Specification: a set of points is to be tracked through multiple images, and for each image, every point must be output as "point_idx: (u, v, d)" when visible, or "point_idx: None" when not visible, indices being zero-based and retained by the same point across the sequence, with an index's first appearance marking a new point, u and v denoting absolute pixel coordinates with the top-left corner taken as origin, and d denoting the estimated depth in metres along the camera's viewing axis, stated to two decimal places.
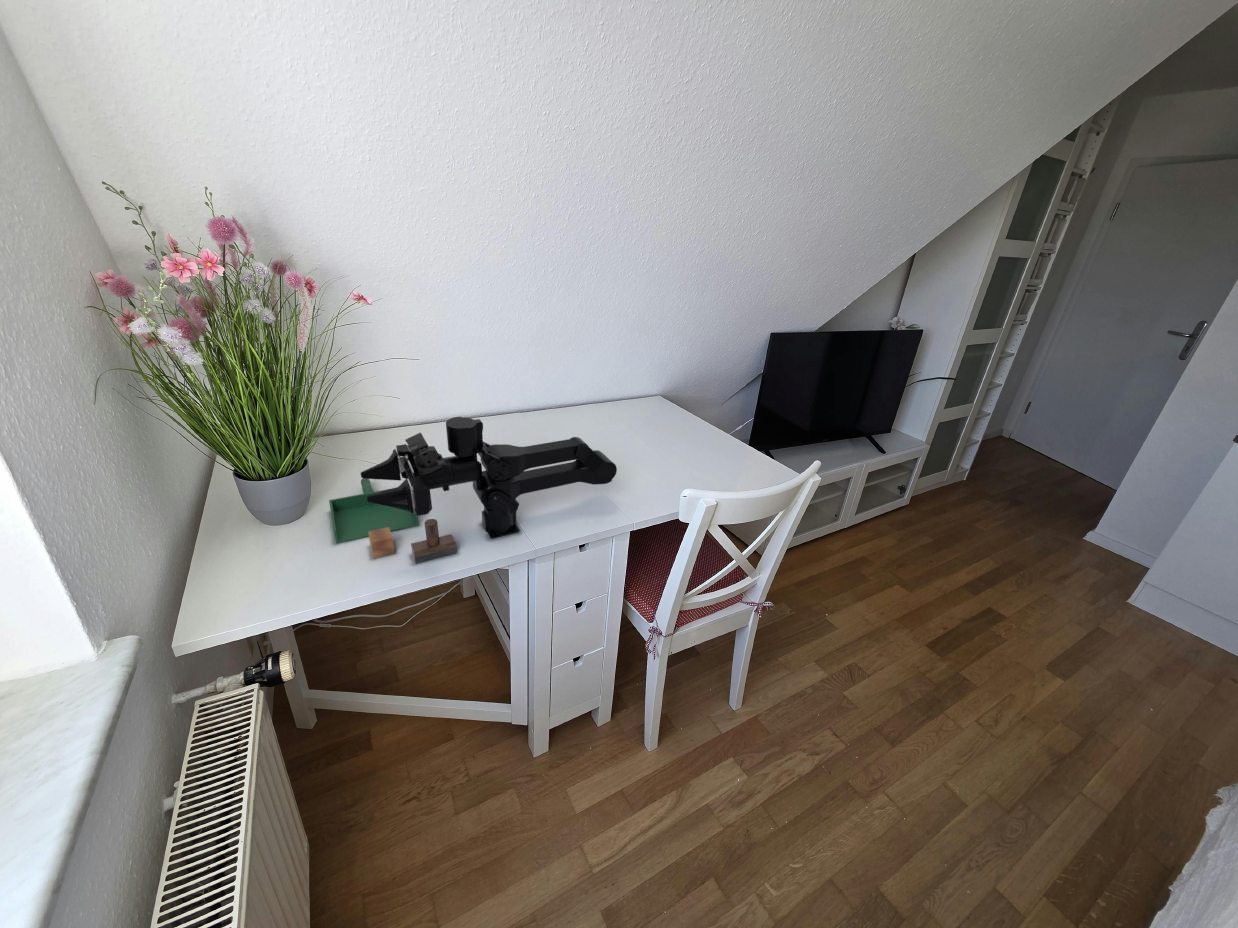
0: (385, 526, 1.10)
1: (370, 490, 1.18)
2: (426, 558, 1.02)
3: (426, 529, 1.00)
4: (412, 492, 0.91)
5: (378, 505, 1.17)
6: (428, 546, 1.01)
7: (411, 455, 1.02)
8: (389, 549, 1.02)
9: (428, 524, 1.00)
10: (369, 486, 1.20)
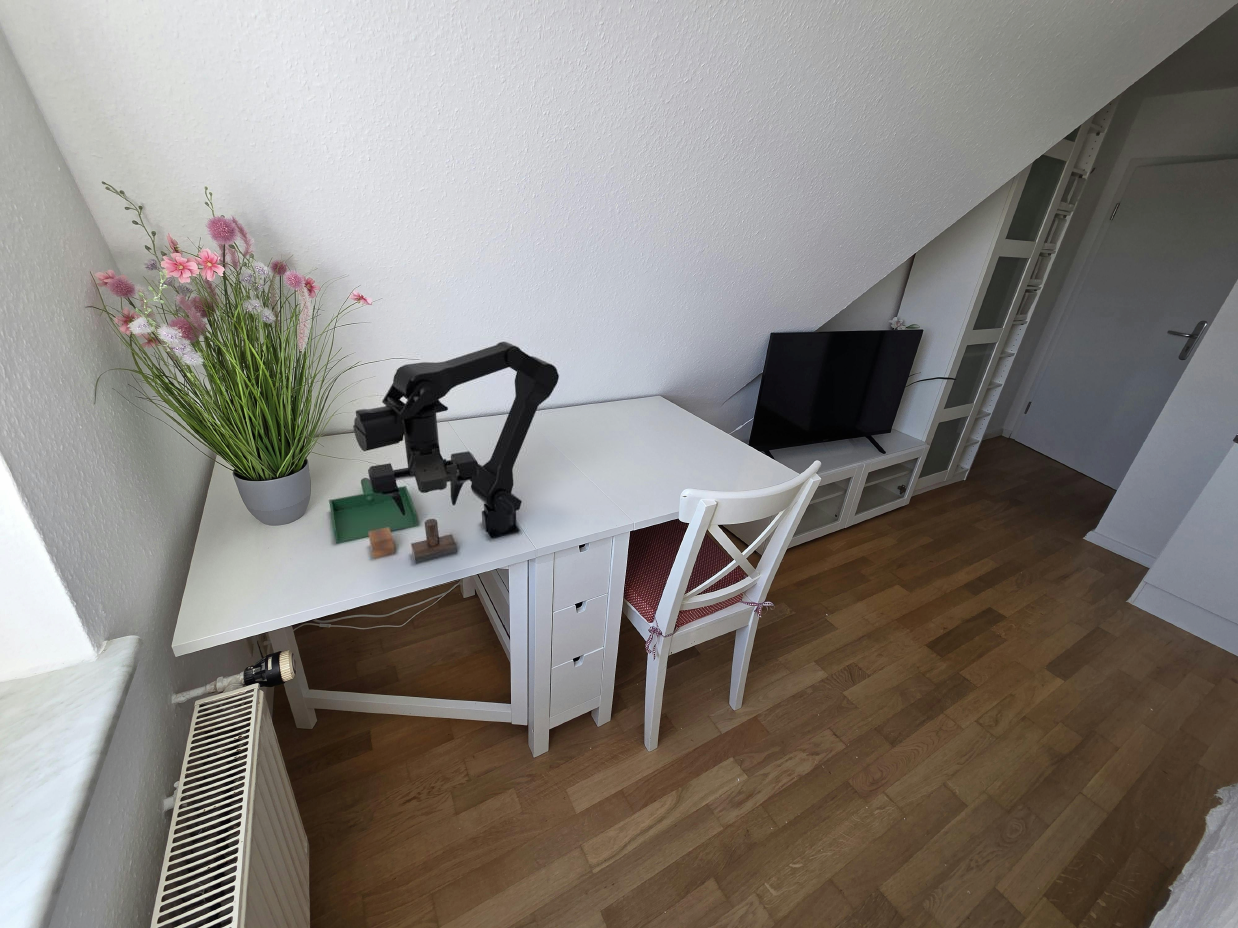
0: (385, 526, 1.10)
1: (370, 490, 1.18)
2: (426, 558, 1.02)
3: (426, 529, 1.00)
4: None
5: (378, 505, 1.17)
6: (428, 546, 1.01)
7: (394, 476, 0.90)
8: (389, 549, 1.02)
9: (428, 524, 1.00)
10: (369, 486, 1.20)
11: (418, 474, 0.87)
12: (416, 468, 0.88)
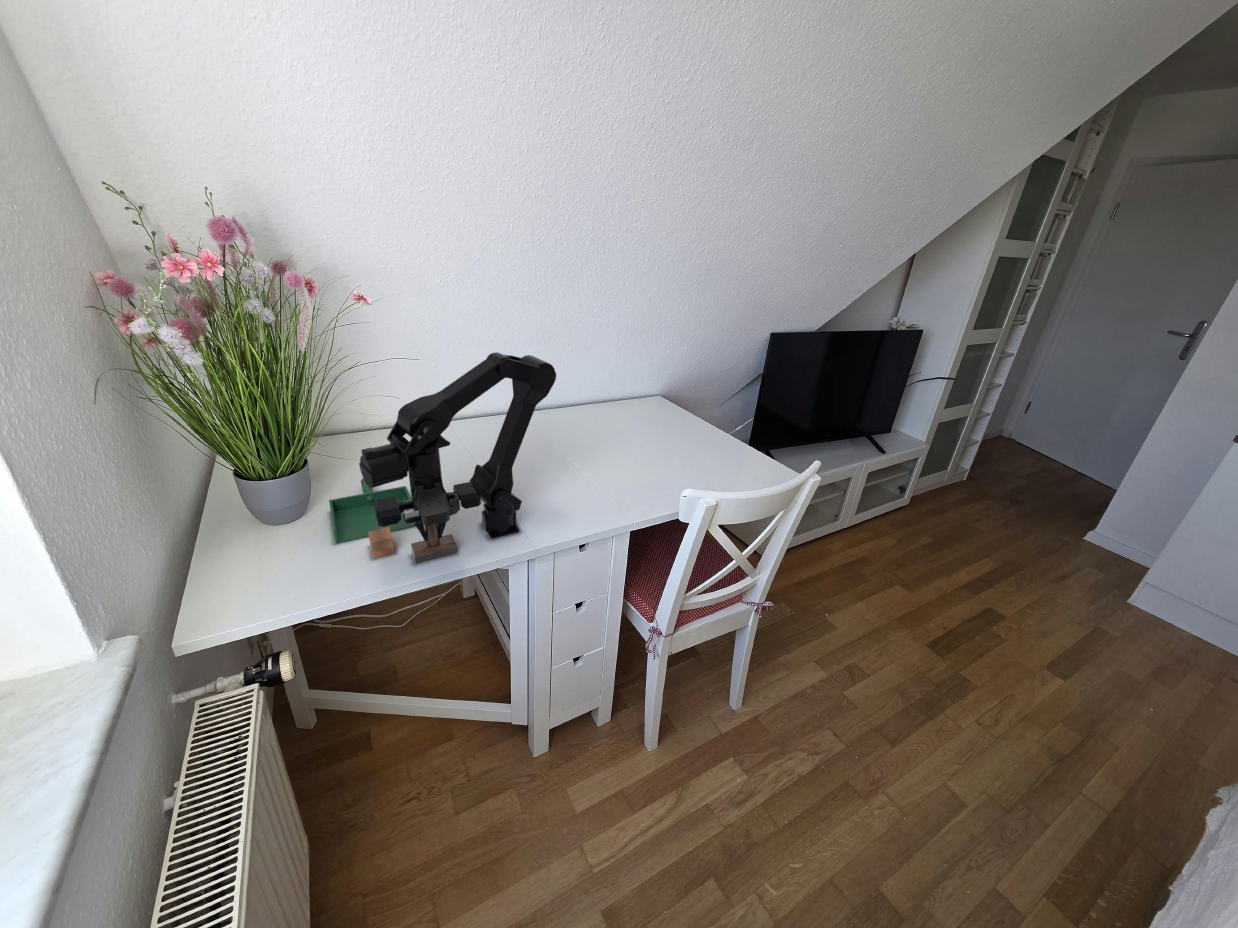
0: (385, 526, 1.10)
1: (370, 490, 1.18)
2: (426, 558, 1.02)
3: (426, 529, 1.00)
4: None
5: None
6: (428, 546, 1.01)
7: (399, 509, 0.94)
8: (389, 549, 1.02)
9: None
10: None
11: (422, 508, 0.91)
12: (420, 502, 0.91)
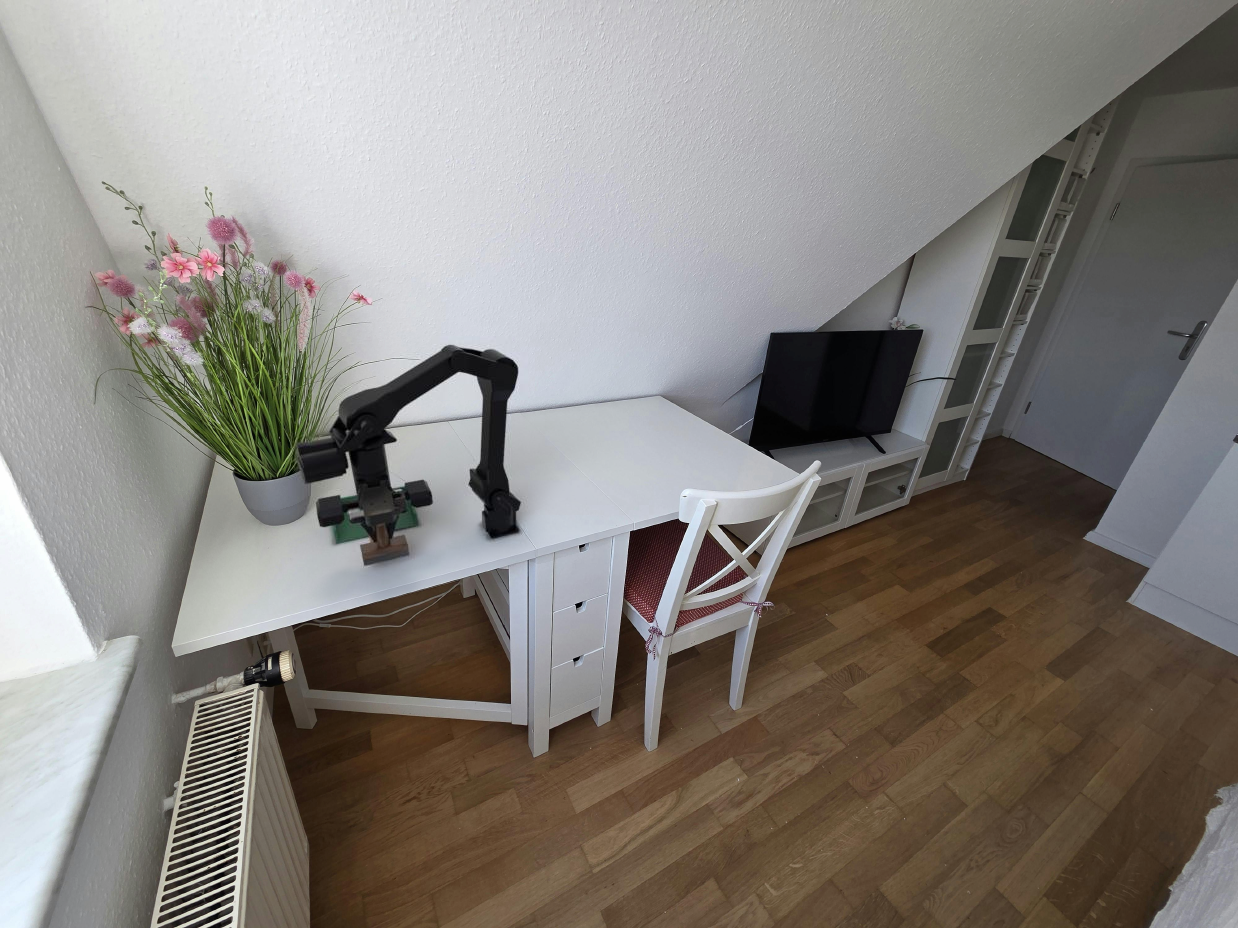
0: None
1: None
2: (376, 560, 0.96)
3: (375, 529, 0.95)
4: None
5: None
6: (378, 547, 0.96)
7: (342, 509, 0.88)
8: None
9: None
10: None
11: (364, 508, 0.85)
12: (363, 501, 0.86)
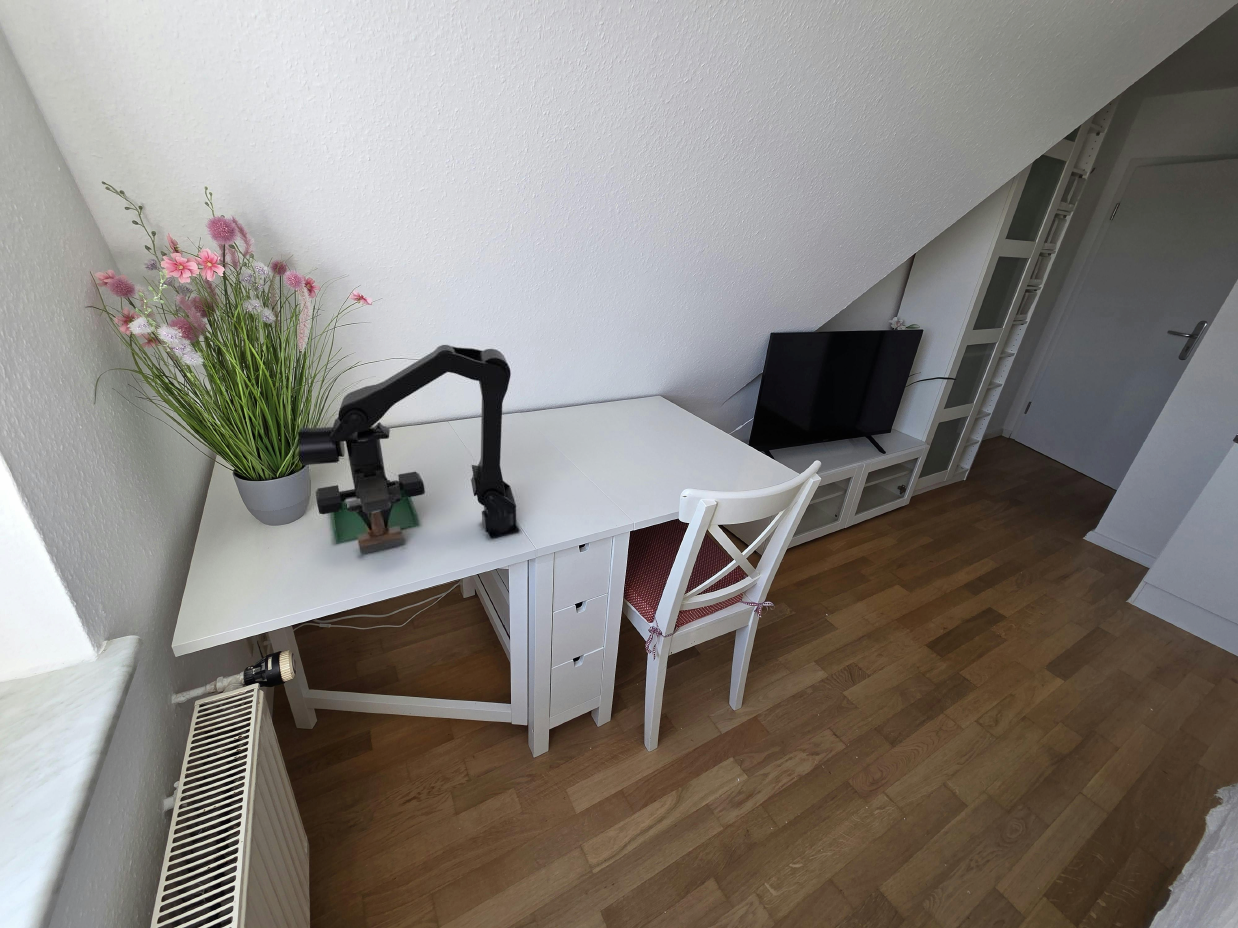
0: None
1: None
2: (372, 548, 1.02)
3: (370, 517, 1.01)
4: None
5: None
6: (374, 535, 1.02)
7: (340, 497, 0.95)
8: None
9: (372, 512, 1.01)
10: None
11: (361, 495, 0.92)
12: (359, 490, 0.93)
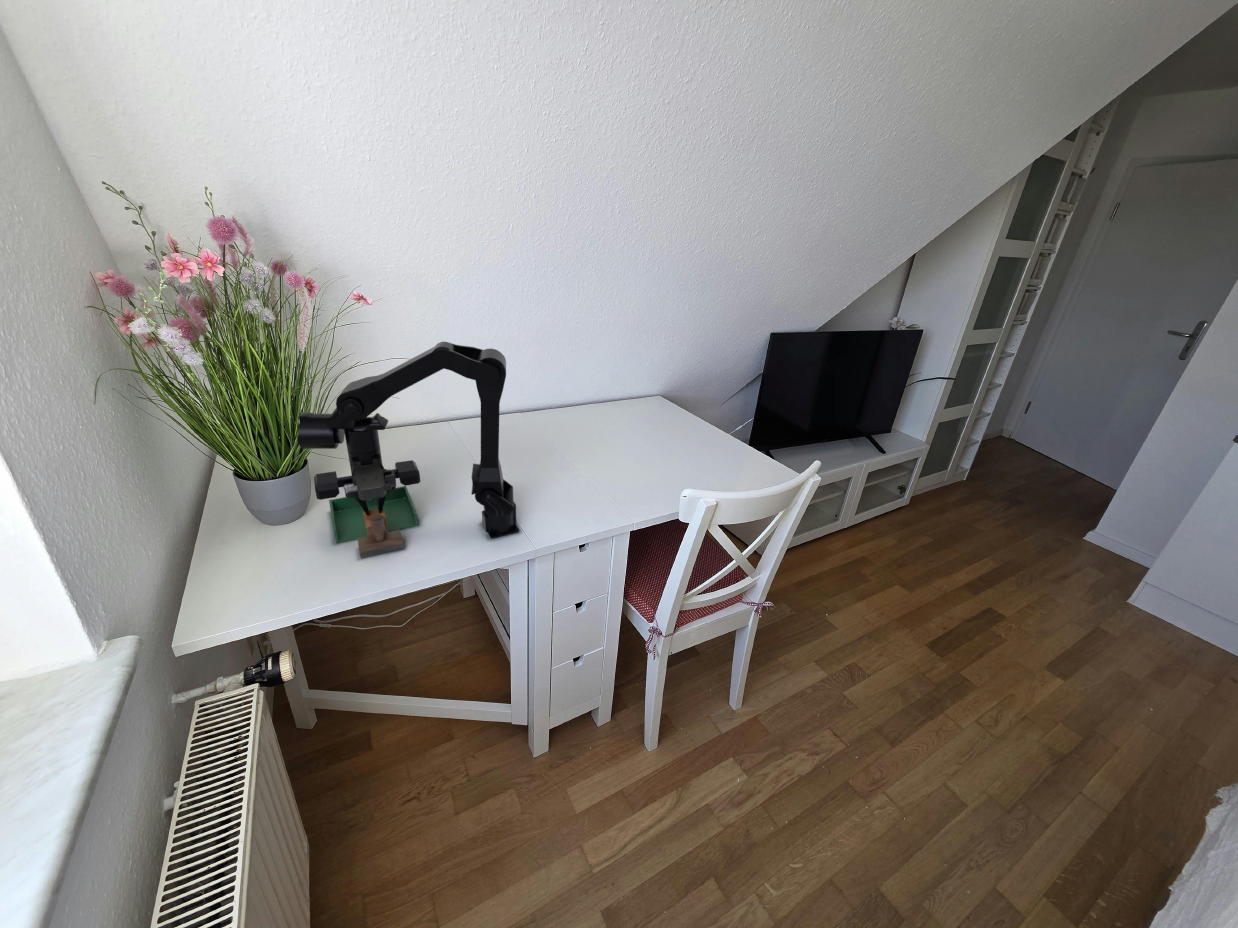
0: None
1: None
2: (372, 553, 1.02)
3: (371, 524, 1.00)
4: None
5: None
6: (374, 541, 1.02)
7: (338, 484, 0.98)
8: None
9: (373, 519, 1.00)
10: None
11: (358, 483, 0.95)
12: (356, 477, 0.95)
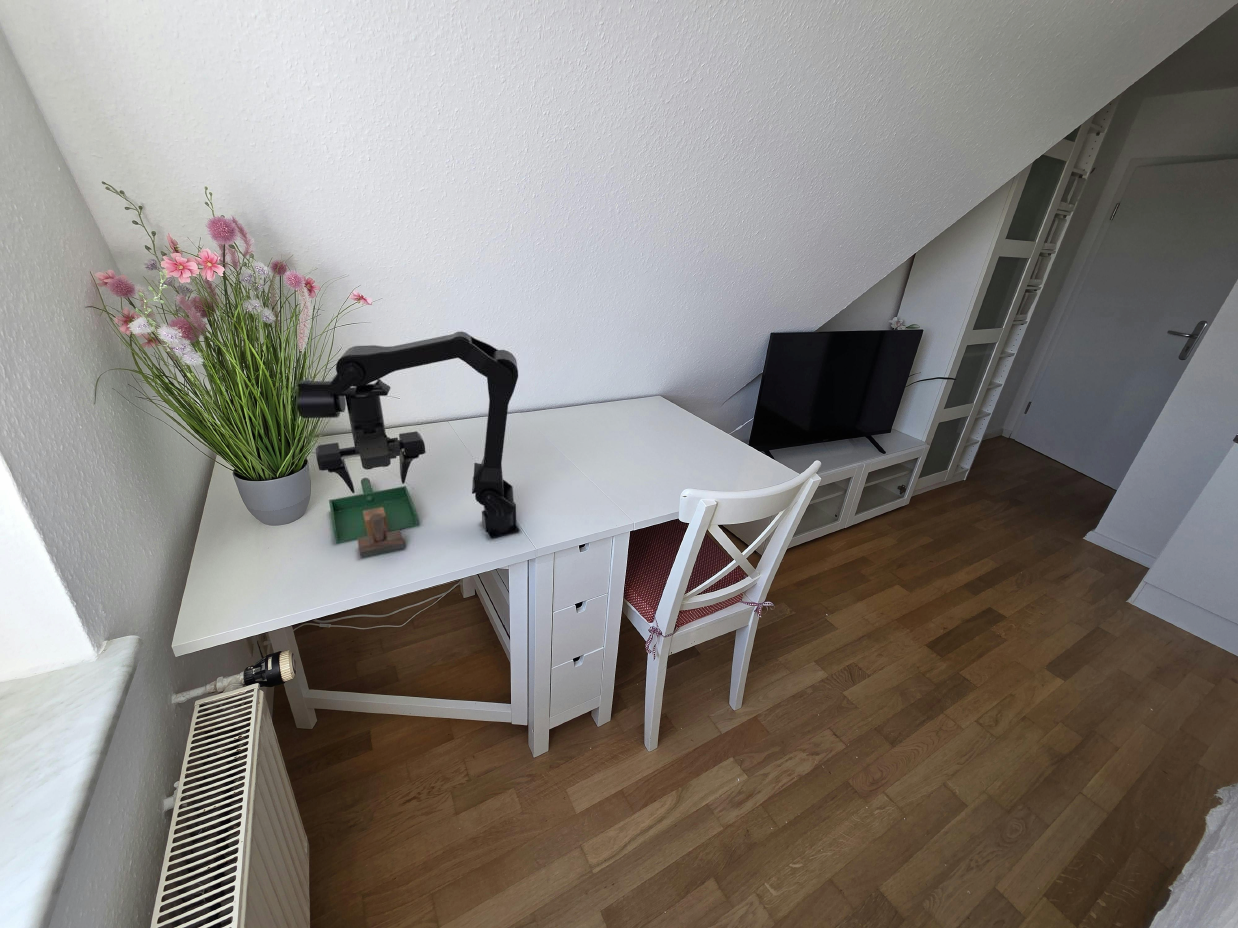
0: None
1: (370, 490, 1.18)
2: (372, 553, 1.02)
3: (371, 524, 1.00)
4: None
5: (378, 505, 1.17)
6: (374, 541, 1.02)
7: (340, 454, 0.94)
8: None
9: (373, 519, 1.00)
10: (369, 486, 1.20)
11: (361, 451, 0.91)
12: (359, 446, 0.92)
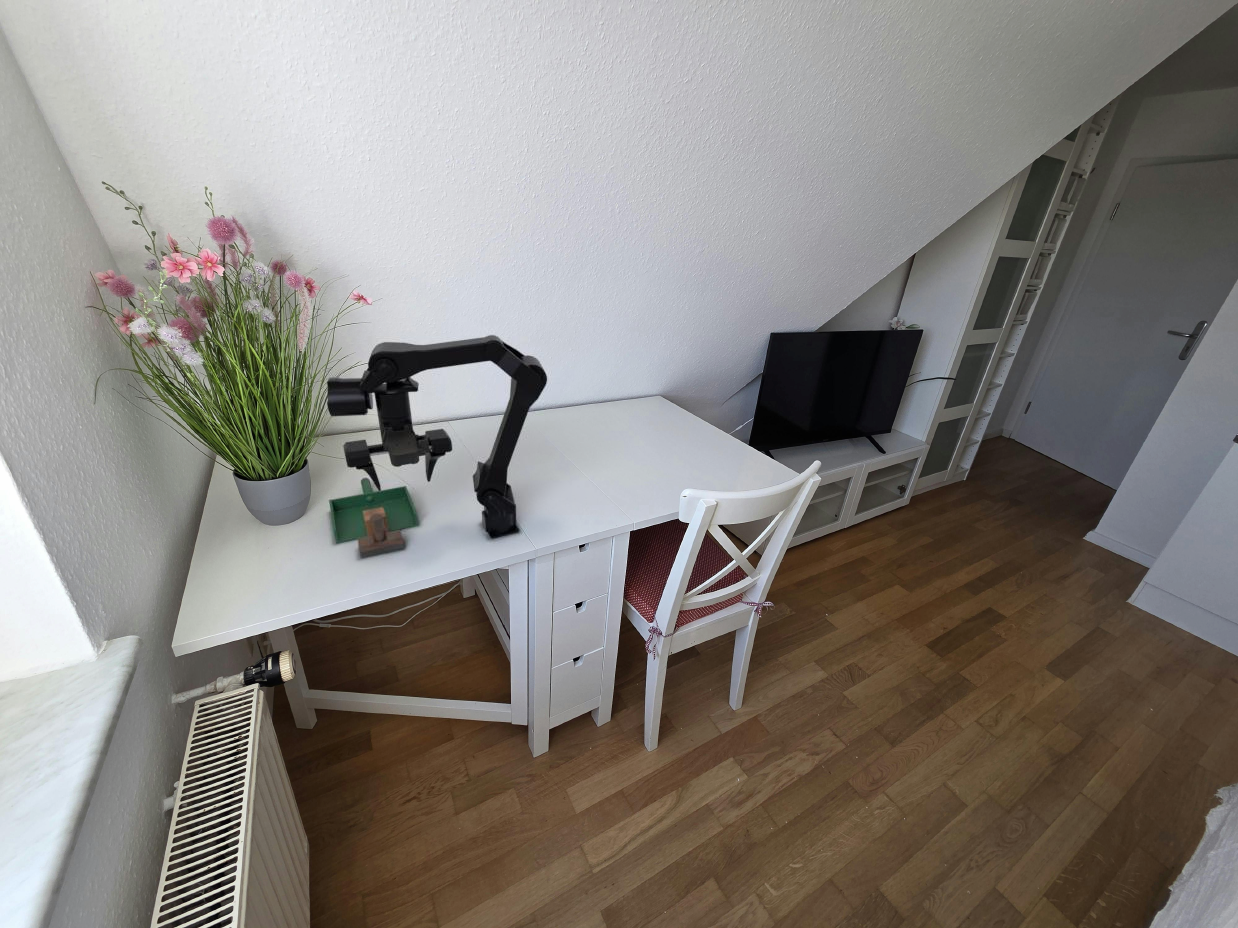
0: None
1: (370, 490, 1.18)
2: (372, 553, 1.02)
3: (371, 524, 1.00)
4: None
5: (378, 505, 1.17)
6: (374, 541, 1.02)
7: (368, 451, 0.94)
8: None
9: (373, 519, 1.00)
10: (369, 486, 1.20)
11: (390, 448, 0.90)
12: (388, 443, 0.91)
